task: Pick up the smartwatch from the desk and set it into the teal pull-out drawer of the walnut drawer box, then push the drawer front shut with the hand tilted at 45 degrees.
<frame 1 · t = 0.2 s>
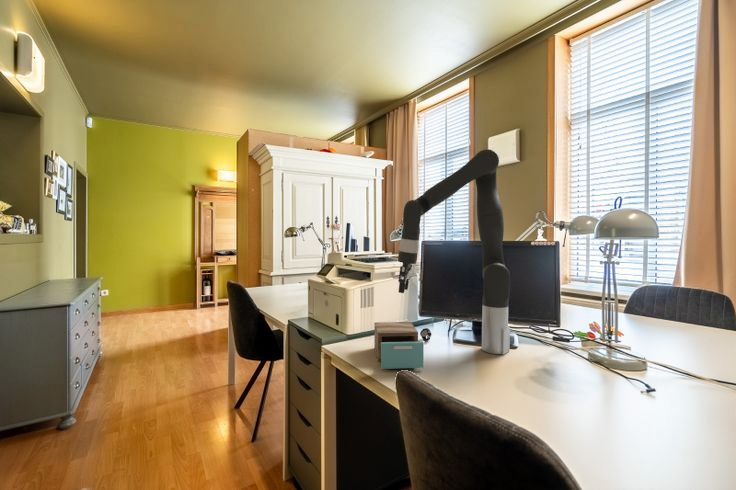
hand: (403, 291, 143), 21 cm above the table, tool pointing down, fingers open, 8 cm apart
drawer box: (395, 354, 132), on the table
teal pull-out drawer: (399, 349, 122), point 5 cm above the table, slide at 8.0 cm
smartwatch: (425, 341, 148), on the table
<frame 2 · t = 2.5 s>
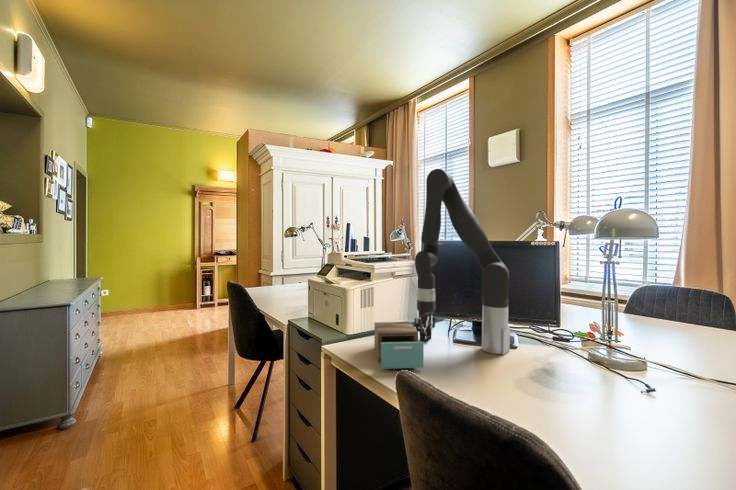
hand: (425, 339, 148), 0 cm above the table, tool pointing down, fingers closed on smartwatch, 4 cm apart
smartwatch: (425, 341, 147), on the table, touching gripper
everything else where it was.
when the fingers open (4 cm above the table, at t = 8.4 s): smartwatch drops 2 cm, resting on teal pull-out drawer.
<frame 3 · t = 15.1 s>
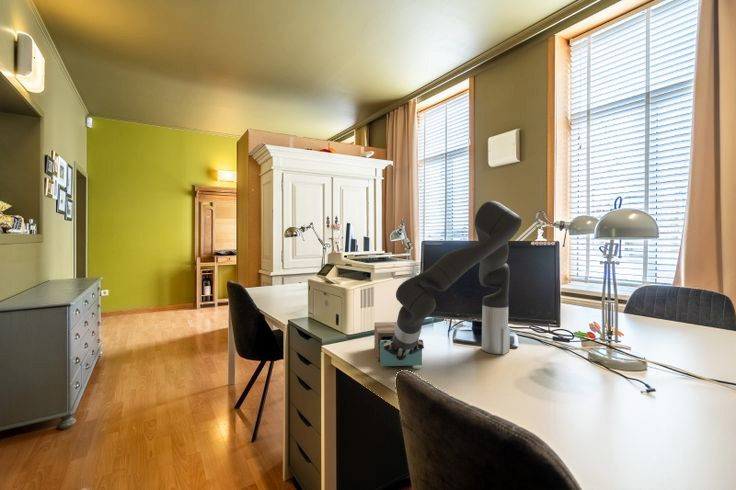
hand: (400, 357, 117), 4 cm above the table, tool tilted 45°, fingers closed
teal pull-out drawer: (398, 347, 124), point 5 cm above the table, slide at 5.8 cm, touching gripper, smartwatch
smartwatch: (398, 357, 123), point 2 cm above the table, touching teal pull-out drawer
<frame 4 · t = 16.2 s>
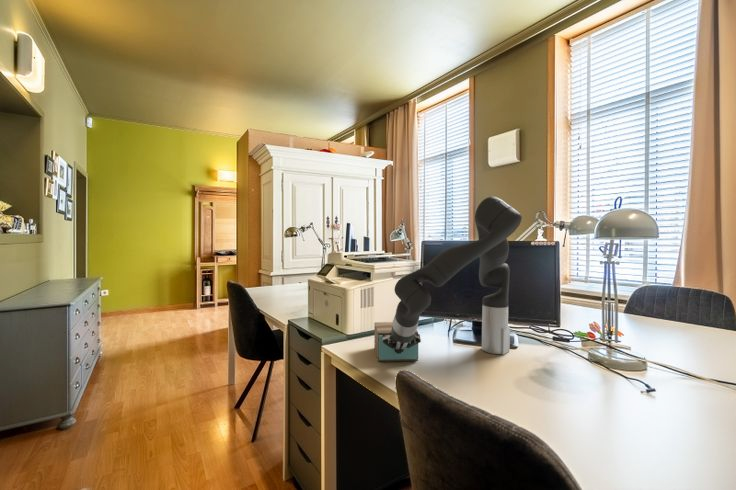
hand: (398, 351, 123), 4 cm above the table, tool tilted 45°, fingers closed
teal pull-out drawer: (396, 341, 129), point 5 cm above the table, slide at 0.2 cm, touching gripper, smartwatch
smartwatch: (395, 351, 128), point 2 cm above the table, touching teal pull-out drawer
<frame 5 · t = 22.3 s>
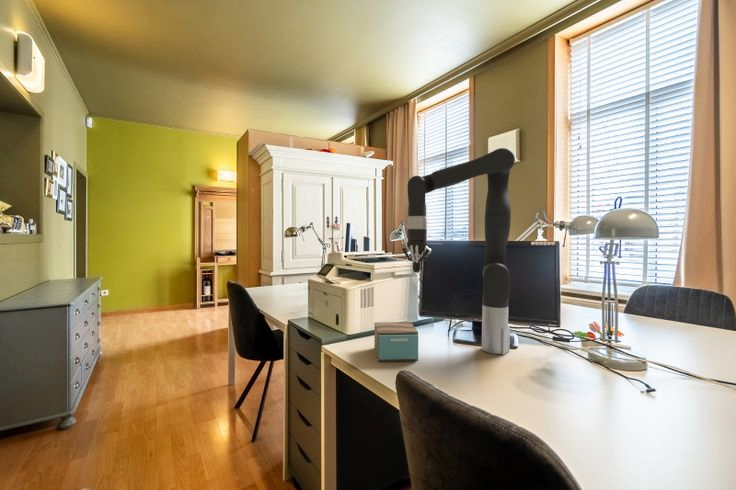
hand: (416, 272, 141), 29 cm above the table, tool pointing down, fingers closed
teal pull-out drawer: (395, 341, 130), point 5 cm above the table, slide at 0.0 cm, touching smartwatch
everything else where it was.
at the end: teal pull-out drawer slide at 0.0 cm; smartwatch inside the target area on the drawer box (3.1 cm from its centre), point 2.0 cm above the drawer box's base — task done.
